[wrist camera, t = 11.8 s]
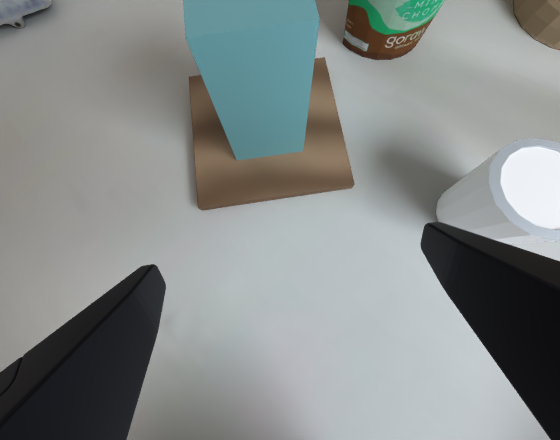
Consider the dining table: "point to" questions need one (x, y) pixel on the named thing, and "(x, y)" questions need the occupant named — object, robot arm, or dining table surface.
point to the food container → (387, 26)
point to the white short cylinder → (509, 195)
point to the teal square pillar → (256, 69)
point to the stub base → (271, 169)
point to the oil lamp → (540, 20)
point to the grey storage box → (20, 10)
